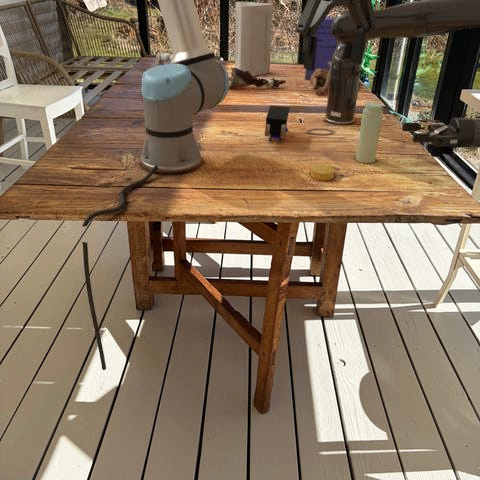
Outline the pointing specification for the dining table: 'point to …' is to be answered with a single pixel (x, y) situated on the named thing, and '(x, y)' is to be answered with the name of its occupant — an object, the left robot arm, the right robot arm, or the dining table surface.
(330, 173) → the lid
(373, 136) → the jar
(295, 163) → the dining table surface
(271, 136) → the figurine character
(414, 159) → the dining table surface
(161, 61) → the toy
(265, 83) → the figurine
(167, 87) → the left robot arm
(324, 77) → the anatomical model
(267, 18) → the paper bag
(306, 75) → the cereal box
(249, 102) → the dining table surface
